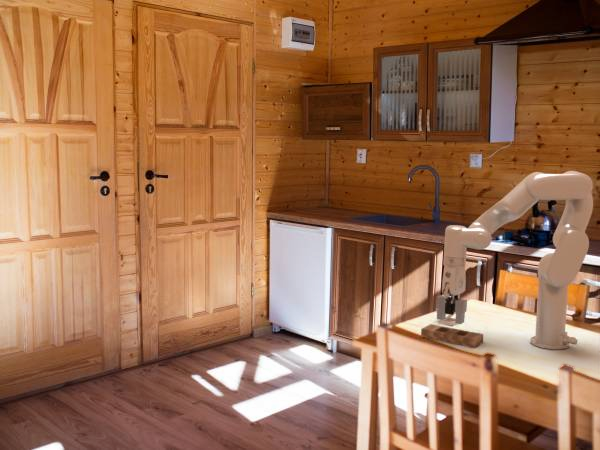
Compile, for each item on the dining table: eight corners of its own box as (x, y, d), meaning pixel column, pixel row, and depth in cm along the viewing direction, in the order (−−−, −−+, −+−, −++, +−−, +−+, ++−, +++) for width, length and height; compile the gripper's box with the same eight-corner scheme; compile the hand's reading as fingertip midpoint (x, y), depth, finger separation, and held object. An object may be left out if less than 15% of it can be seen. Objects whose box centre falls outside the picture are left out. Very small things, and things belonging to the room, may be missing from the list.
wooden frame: (483, 342, 240) (483, 334, 240) (474, 348, 234) (475, 339, 234) (430, 332, 252) (430, 324, 251) (421, 337, 246) (421, 328, 245)
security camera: (443, 319, 269) (444, 294, 267) (460, 322, 264) (461, 297, 263) (435, 322, 264) (436, 297, 262) (452, 326, 259) (453, 300, 258)
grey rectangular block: (465, 322, 241) (467, 300, 239) (462, 324, 238) (463, 301, 237) (439, 316, 246) (440, 295, 245) (435, 318, 244) (436, 296, 243)
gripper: (455, 266, 230) (451, 320, 233) (474, 259, 243) (470, 310, 246) (434, 263, 235) (431, 315, 237) (454, 256, 248) (451, 306, 250)
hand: (451, 312), depth 242 cm, fingers closed on grey rectangular block, 3 cm apart
